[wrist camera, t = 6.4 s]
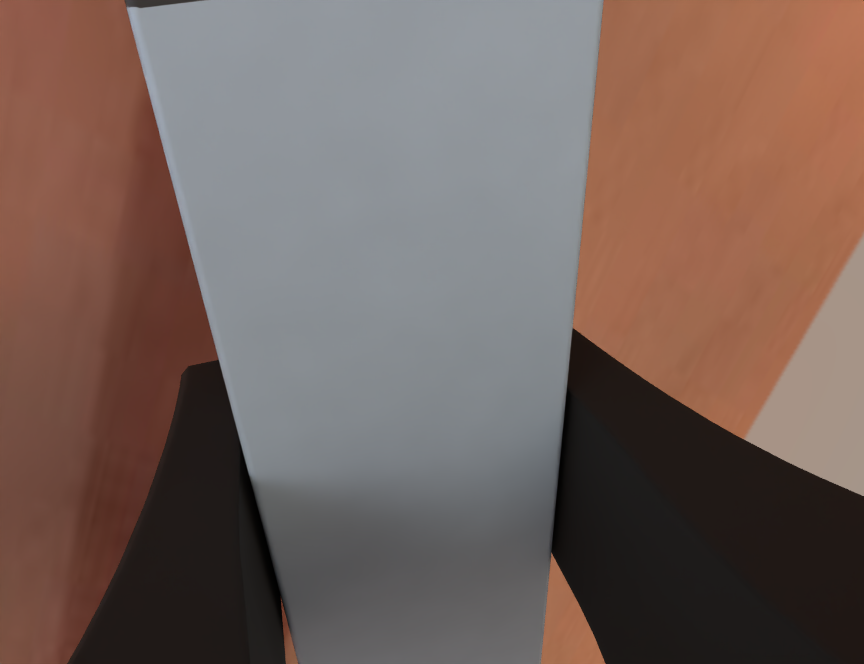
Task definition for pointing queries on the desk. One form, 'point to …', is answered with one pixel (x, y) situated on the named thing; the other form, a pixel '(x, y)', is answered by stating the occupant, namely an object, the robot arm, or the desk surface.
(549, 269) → the stapler
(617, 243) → the desk surface
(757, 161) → the desk surface
